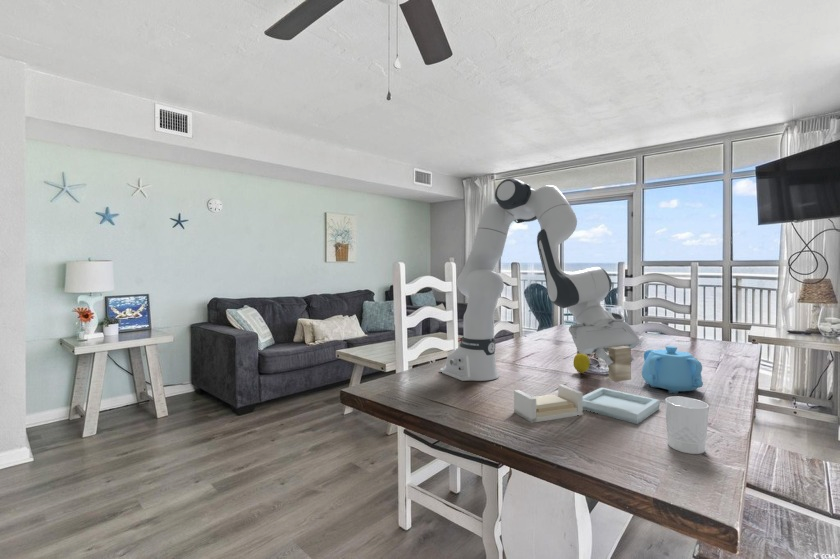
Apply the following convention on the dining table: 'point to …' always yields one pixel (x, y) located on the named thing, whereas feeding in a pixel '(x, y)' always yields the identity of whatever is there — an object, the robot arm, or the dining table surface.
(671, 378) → the decorative pot
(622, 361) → the upright wood block
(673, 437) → the white cup
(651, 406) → the ceramic tray
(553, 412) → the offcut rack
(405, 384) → the dining table surface
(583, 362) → the lemon
